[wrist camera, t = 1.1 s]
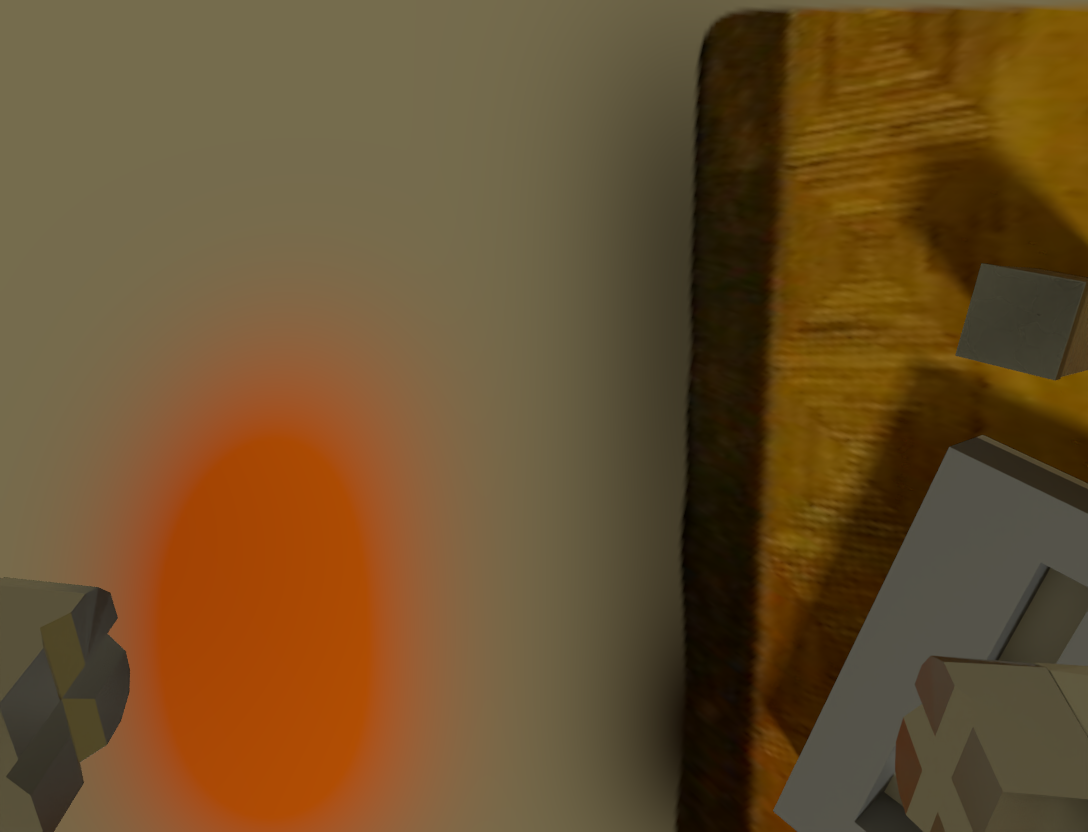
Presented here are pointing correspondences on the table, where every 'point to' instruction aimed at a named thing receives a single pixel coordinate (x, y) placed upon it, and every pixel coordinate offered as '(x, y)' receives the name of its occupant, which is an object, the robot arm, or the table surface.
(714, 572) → the table surface
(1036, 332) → the grey square-topped block
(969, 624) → the caddy
